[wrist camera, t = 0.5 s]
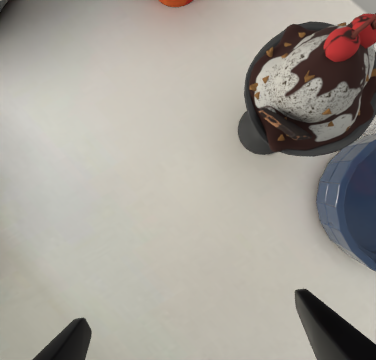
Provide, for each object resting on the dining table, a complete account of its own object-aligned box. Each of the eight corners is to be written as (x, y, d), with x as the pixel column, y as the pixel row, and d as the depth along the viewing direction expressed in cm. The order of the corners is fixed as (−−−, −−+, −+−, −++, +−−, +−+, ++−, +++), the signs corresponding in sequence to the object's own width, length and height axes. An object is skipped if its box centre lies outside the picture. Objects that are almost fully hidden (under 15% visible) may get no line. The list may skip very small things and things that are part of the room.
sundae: (289, 85, 20) (517, -165, 5) (305, 153, 20) (573, 105, 5) (222, 105, 21) (245, -60, 6) (237, 170, 21) (299, 169, 6)
